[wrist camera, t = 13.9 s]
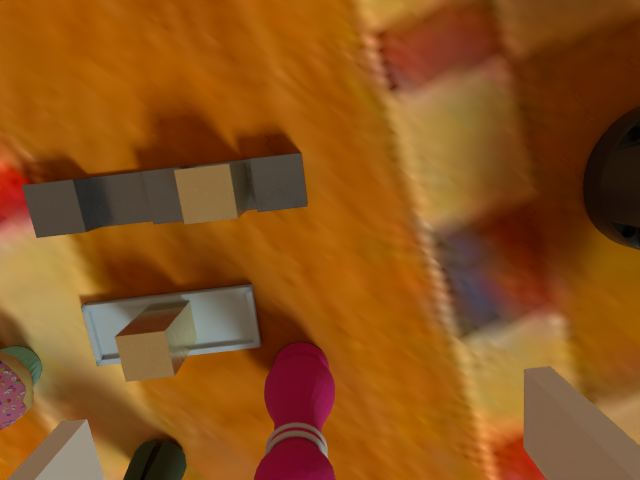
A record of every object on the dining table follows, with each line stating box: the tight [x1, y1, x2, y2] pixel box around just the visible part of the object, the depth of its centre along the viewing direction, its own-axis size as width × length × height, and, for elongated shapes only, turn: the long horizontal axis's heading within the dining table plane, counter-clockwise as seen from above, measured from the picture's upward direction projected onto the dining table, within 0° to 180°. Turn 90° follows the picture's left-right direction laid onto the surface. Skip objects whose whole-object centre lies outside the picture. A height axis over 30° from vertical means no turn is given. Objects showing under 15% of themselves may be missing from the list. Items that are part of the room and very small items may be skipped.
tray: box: [81, 284, 262, 366], centre depth 41 cm, size 18×7×1 cm, turn 97°
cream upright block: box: [174, 162, 251, 224], centre depth 34 cm, size 4×4×7 cm
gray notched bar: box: [22, 153, 308, 238], centre depth 37 cm, size 26×5×3 cm, turn 96°
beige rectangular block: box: [115, 301, 198, 382], centre depth 37 cm, size 4×4×7 cm
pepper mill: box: [254, 342, 336, 480], centre depth 33 cm, size 7×7×20 cm
